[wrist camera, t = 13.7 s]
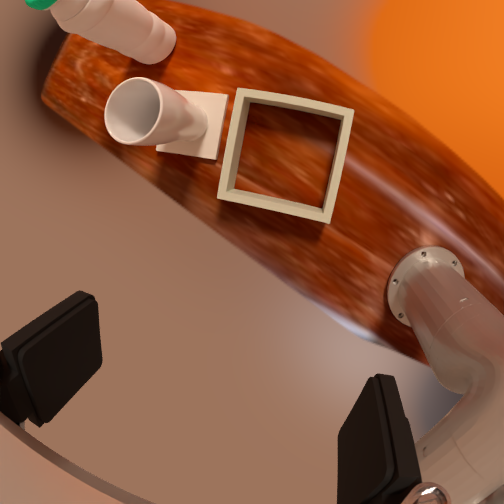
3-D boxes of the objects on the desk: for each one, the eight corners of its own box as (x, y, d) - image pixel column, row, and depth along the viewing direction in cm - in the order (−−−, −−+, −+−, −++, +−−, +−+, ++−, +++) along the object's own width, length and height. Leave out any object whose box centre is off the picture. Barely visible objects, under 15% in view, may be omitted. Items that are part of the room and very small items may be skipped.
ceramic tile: (229, 95, 38) (227, 94, 37) (217, 159, 40) (215, 159, 40) (169, 90, 39) (166, 89, 38) (158, 150, 42) (155, 150, 41)
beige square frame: (350, 114, 36) (354, 109, 32) (327, 217, 40) (329, 223, 36) (244, 94, 37) (237, 87, 33) (225, 194, 42) (216, 198, 38)
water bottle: (129, 48, 38) (8, 1, 14) (161, 17, 35) (54, -54, 12) (151, 74, 38) (23, 28, 15) (186, 41, 36) (76, -36, 13)
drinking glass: (170, 150, 40) (105, 151, 26) (166, 104, 39) (102, 86, 24) (216, 143, 39) (165, 138, 25) (212, 95, 37) (161, 67, 23)
